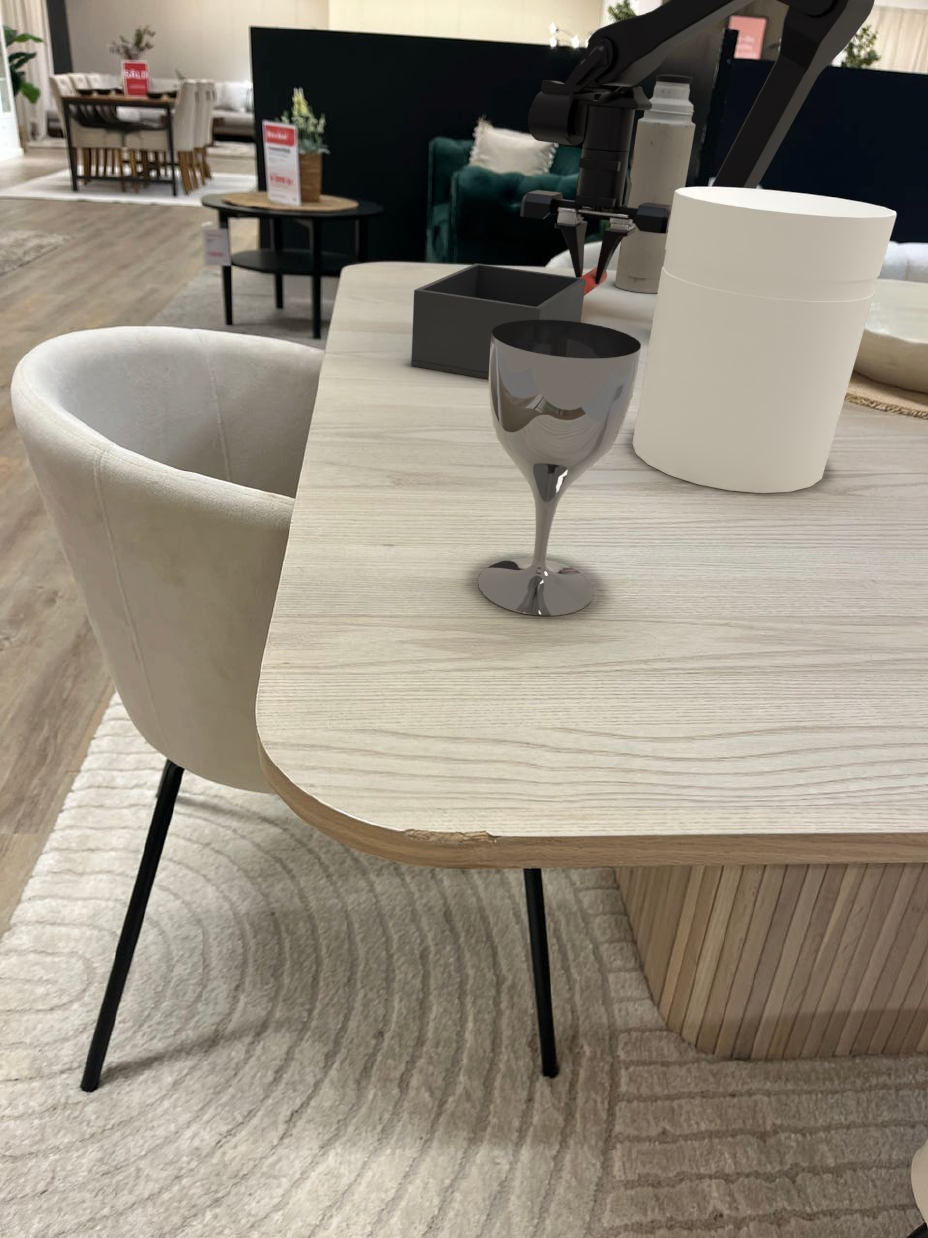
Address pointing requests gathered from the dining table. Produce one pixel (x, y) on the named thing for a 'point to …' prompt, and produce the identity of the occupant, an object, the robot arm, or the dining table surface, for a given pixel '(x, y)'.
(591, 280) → the sausage
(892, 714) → the dining table surface
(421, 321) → the bin
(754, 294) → the canister
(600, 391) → the wine glass
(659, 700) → the dining table surface
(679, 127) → the thermos bottle
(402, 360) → the dining table surface
